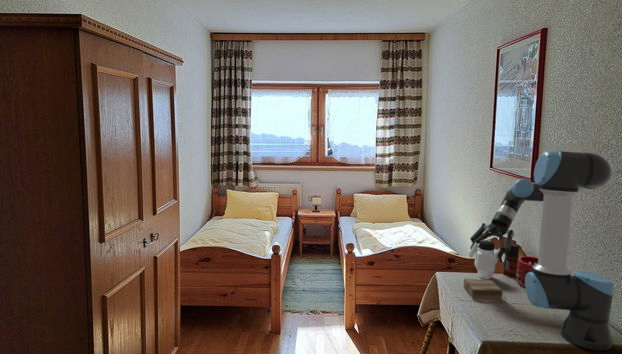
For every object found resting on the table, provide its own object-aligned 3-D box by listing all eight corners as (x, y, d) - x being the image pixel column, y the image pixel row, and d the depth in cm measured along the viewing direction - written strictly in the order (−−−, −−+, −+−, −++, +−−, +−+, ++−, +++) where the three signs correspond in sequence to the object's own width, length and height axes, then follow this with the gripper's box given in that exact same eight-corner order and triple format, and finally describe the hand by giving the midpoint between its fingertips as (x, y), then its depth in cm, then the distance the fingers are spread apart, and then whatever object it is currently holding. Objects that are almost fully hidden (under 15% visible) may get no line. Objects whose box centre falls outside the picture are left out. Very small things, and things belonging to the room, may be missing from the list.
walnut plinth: (501, 300, 185) (502, 291, 185) (472, 298, 186) (473, 289, 185) (490, 288, 197) (491, 280, 197) (463, 287, 197) (464, 278, 197)
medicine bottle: (494, 272, 186) (497, 244, 184) (476, 270, 187) (479, 242, 186) (491, 266, 193) (494, 239, 191) (474, 264, 194) (476, 237, 192)
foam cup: (473, 272, 217) (475, 246, 215) (493, 274, 216) (496, 248, 214) (476, 279, 208) (479, 252, 206) (497, 281, 206) (500, 254, 204)
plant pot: (513, 287, 200) (516, 261, 199) (517, 278, 212) (520, 253, 210) (546, 294, 194) (549, 267, 192) (548, 284, 205) (551, 259, 203)
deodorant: (501, 274, 215) (504, 244, 213) (504, 271, 220) (507, 242, 218) (514, 277, 212) (518, 247, 210) (517, 274, 217) (520, 244, 214)
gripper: (531, 229, 189) (510, 272, 181) (482, 217, 206) (460, 257, 198) (527, 218, 185) (505, 262, 177) (477, 207, 201) (455, 247, 194)
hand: (481, 259), depth 187 cm, fingers closed on medicine bottle, 10 cm apart
